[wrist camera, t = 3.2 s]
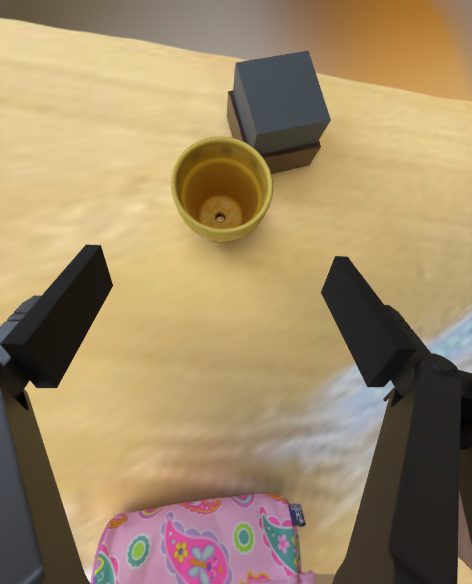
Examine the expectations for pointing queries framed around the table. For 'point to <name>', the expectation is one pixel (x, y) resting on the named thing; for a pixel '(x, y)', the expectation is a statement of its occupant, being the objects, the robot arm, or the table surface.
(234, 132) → the base block
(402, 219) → the table surface
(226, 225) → the flower pot
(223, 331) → the table surface
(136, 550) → the pencil case
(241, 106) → the top block
